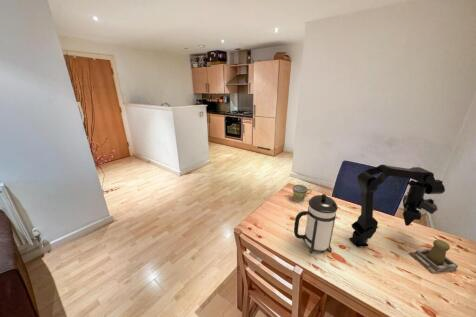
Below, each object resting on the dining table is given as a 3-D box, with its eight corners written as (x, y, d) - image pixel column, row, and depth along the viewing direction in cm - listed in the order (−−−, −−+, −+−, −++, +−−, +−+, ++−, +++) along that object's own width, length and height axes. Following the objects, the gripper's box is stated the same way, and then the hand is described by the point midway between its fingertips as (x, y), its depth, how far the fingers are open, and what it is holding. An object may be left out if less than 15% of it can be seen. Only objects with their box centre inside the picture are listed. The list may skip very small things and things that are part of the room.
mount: (431, 273, 86) (433, 268, 85) (408, 253, 97) (410, 249, 96) (455, 270, 88) (458, 265, 87) (430, 251, 98) (432, 246, 97)
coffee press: (307, 229, 113) (314, 183, 103) (336, 244, 103) (347, 194, 92) (291, 246, 102) (296, 195, 92) (322, 264, 91) (332, 209, 81)
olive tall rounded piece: (447, 267, 88) (456, 248, 84) (431, 265, 89) (439, 246, 86) (437, 256, 94) (445, 238, 90) (422, 254, 95) (429, 236, 91)
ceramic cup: (292, 203, 139) (293, 190, 136) (290, 195, 148) (292, 184, 145) (311, 204, 137) (313, 192, 133) (309, 197, 146) (310, 185, 143)
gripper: (442, 208, 83) (430, 238, 88) (436, 190, 97) (426, 217, 102) (407, 200, 89) (398, 228, 95) (407, 184, 103) (399, 209, 109)
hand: (406, 220), depth 100 cm, fingers open, 9 cm apart
